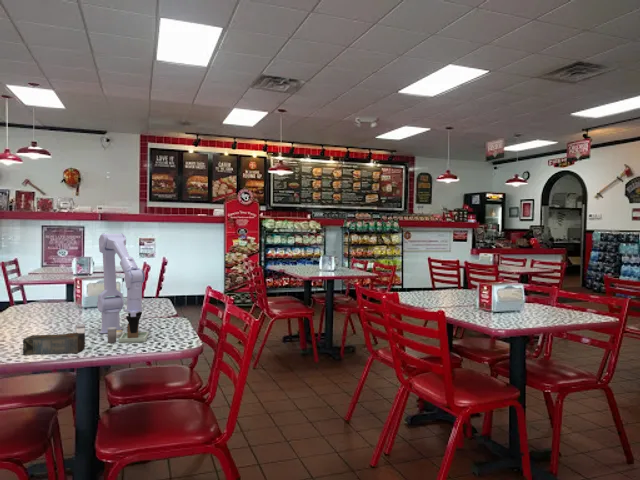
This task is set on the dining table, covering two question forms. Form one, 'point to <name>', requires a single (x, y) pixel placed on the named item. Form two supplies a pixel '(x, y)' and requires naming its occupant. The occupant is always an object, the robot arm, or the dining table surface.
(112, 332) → the pepper shaker
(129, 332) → the walnut block
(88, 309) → the dining table surface
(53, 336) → the beverage carton
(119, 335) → the sauce cup
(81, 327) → the salt shaker
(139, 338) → the basket tray
